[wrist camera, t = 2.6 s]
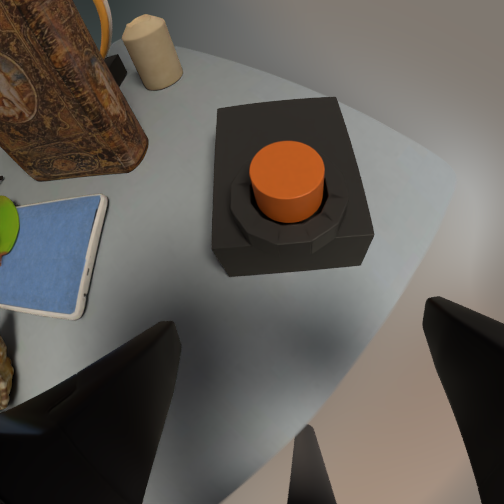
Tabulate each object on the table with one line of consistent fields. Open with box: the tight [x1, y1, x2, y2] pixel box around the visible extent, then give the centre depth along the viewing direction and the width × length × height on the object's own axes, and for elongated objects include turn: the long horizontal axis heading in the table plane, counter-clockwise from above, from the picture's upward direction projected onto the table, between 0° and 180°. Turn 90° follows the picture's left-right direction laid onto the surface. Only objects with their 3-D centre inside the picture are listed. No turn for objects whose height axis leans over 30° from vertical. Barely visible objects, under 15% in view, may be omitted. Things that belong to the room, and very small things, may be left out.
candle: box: [122, 14, 183, 90], centre depth 32 cm, size 6×6×10 cm
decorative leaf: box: [0, 196, 19, 266], centre depth 28 cm, size 8×9×1 cm
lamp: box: [93, 0, 127, 86], centre depth 24 cm, size 17×9×32 cm, turn 87°
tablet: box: [0, 194, 108, 320], centre depth 27 cm, size 19×13×1 cm, turn 88°
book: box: [0, 0, 148, 181], centre depth 21 cm, size 16×6×25 cm, turn 83°
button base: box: [212, 97, 374, 277], centre depth 23 cm, size 14×10×7 cm
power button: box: [249, 141, 325, 223], centre depth 17 cm, size 4×4×2 cm
